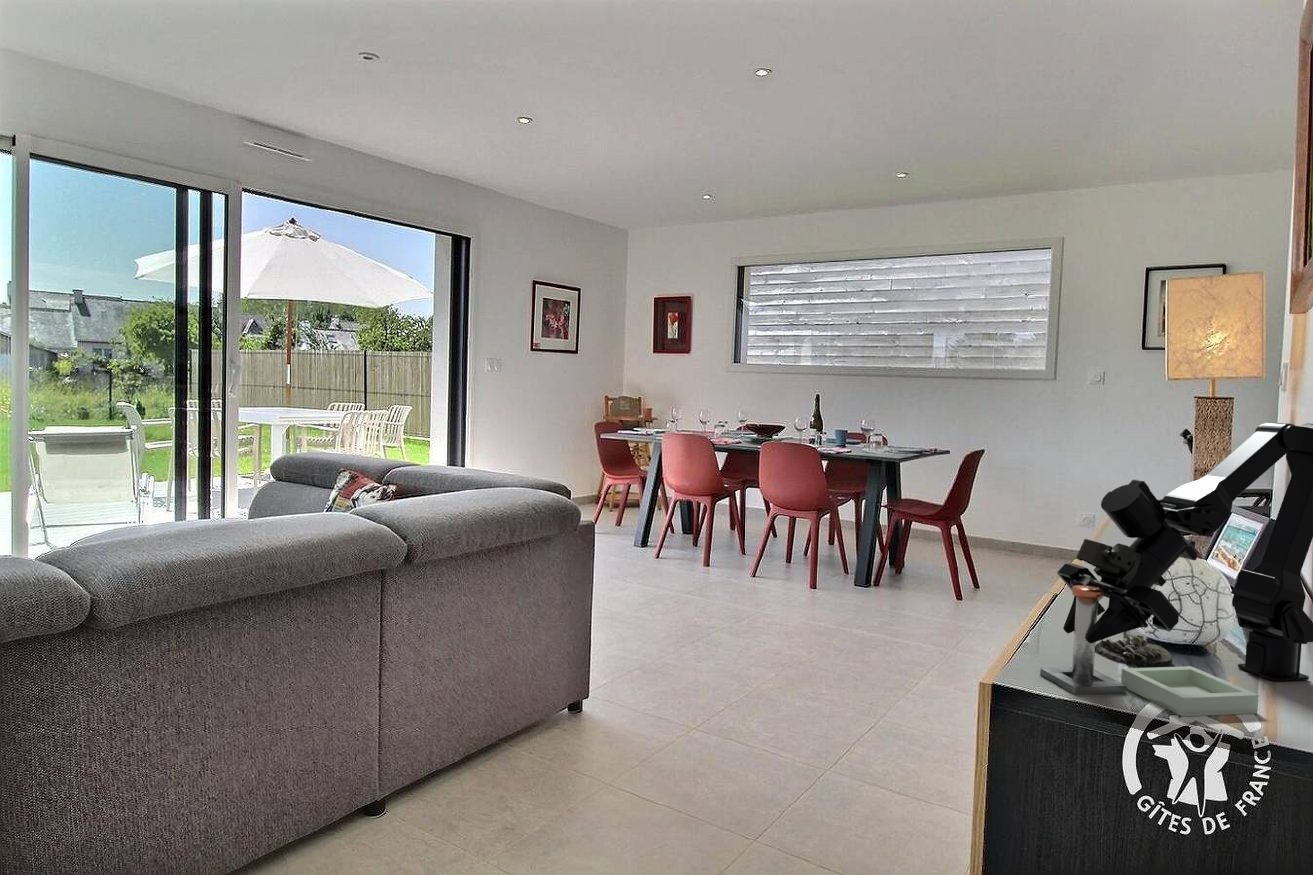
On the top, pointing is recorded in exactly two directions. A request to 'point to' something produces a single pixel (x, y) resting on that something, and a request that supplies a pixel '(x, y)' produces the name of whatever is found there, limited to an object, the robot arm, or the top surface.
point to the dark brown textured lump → (1134, 652)
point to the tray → (1189, 691)
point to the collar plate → (1096, 687)
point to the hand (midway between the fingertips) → (1076, 636)
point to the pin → (1084, 631)
